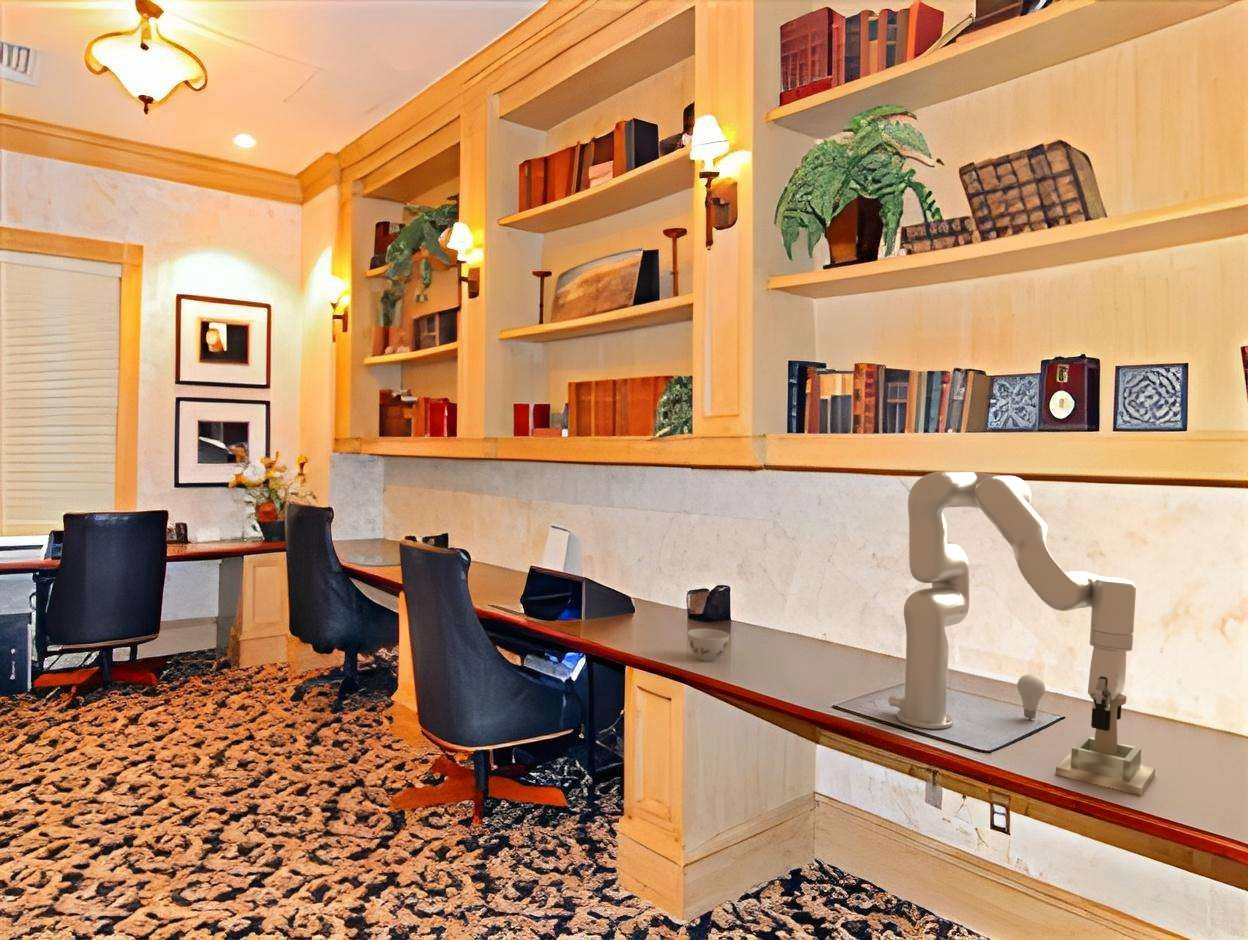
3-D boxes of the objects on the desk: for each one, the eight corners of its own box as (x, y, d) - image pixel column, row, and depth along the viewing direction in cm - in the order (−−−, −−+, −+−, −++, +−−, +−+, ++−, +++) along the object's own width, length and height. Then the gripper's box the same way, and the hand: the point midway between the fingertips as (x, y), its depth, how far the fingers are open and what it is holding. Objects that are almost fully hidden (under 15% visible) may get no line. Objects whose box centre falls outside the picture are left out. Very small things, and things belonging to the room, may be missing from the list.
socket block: (1055, 774, 174) (1056, 747, 174) (1073, 756, 185) (1074, 730, 185) (1140, 795, 165) (1142, 767, 164) (1154, 775, 175) (1156, 748, 175)
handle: (1094, 759, 179) (1097, 688, 178) (1127, 770, 174) (1130, 696, 173) (1082, 764, 176) (1086, 691, 176) (1115, 774, 171) (1119, 700, 170)
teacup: (707, 666, 251) (708, 639, 250) (678, 657, 260) (678, 631, 260) (742, 659, 260) (743, 633, 260) (713, 651, 270) (714, 625, 270)
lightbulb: (1042, 725, 205) (1044, 679, 205) (1014, 720, 208) (1016, 675, 208) (1044, 718, 211) (1046, 673, 210) (1017, 713, 214) (1018, 669, 213)
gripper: (1100, 629, 183) (1095, 709, 184) (1079, 643, 170) (1074, 728, 171) (1141, 636, 178) (1136, 718, 179) (1122, 650, 165) (1117, 738, 166)
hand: (1106, 723), depth 175 cm, fingers open, 9 cm apart
